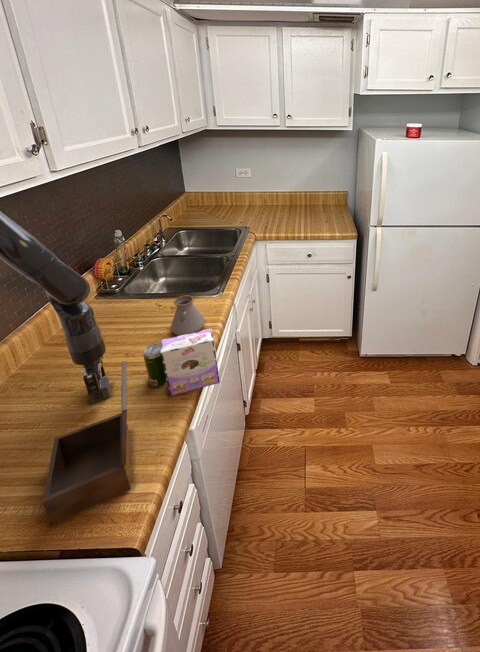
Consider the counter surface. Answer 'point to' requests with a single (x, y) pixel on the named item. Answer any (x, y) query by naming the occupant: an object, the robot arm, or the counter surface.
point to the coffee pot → (186, 317)
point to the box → (86, 468)
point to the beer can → (154, 365)
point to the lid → (124, 412)
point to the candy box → (190, 361)
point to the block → (105, 389)
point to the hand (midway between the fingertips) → (100, 387)
